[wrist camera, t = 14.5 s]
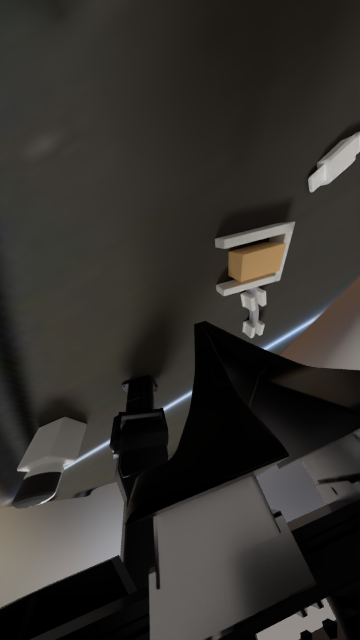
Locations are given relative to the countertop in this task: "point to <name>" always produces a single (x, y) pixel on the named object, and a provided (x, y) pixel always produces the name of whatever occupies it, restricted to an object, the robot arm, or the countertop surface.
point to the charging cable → (335, 162)
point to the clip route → (253, 310)
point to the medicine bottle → (48, 460)
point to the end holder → (274, 231)
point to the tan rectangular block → (255, 260)
